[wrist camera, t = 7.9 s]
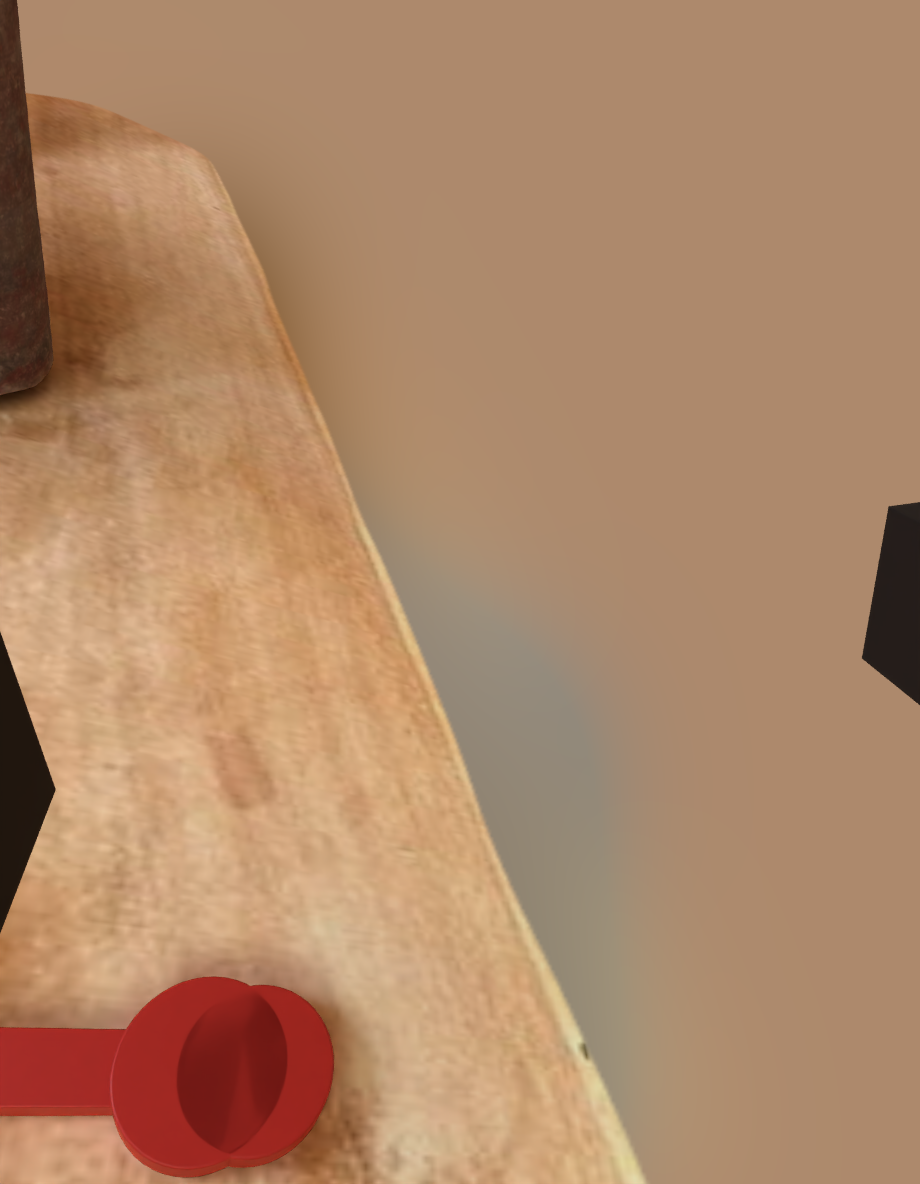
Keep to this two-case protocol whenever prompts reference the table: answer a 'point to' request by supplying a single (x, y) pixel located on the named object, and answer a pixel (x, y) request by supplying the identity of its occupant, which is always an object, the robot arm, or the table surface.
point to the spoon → (184, 1075)
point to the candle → (19, 228)
